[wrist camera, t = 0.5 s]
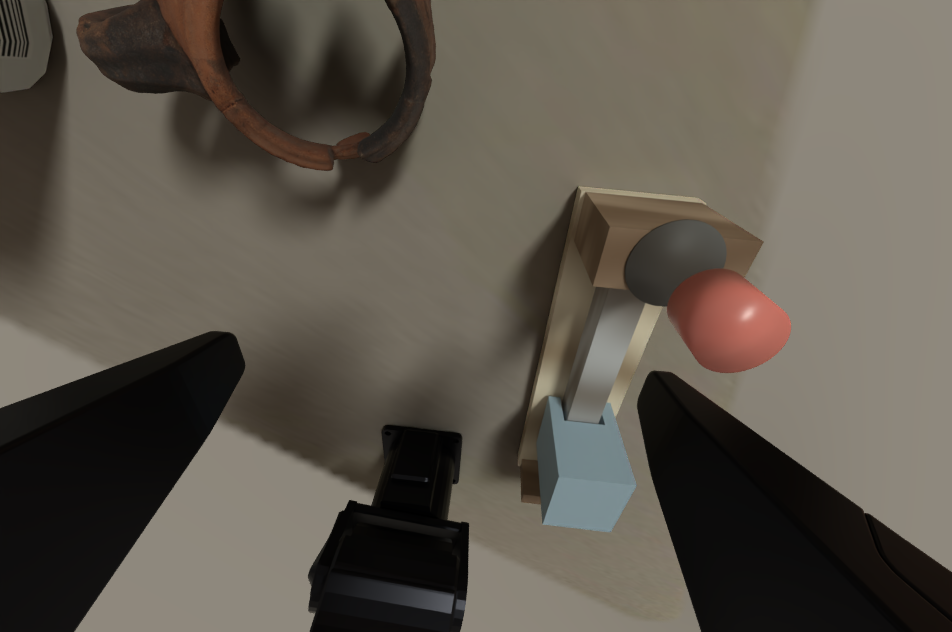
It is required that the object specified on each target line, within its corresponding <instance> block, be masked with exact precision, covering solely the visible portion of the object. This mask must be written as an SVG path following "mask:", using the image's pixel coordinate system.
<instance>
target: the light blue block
mask: <svg viewBox="0 0 952 632" xmlns="http://www.w3.org/2000/svg"><path fill="white" fill-rule="evenodd" d="M536 446H537V459H538V472H539V485H540V497H541V510H542V523H543V524H544V525H552V526H561V527H570V528H578V529H587V530H595V531H604V532H611V531H612V529H613V527H614V525H615V524H616V522H617V520H618V518H619V516H620V515H621V513H622V511H623V509H624V507H625V506H626V504H627V502H628V500H629V498H630V497H631V495H632V493H633V491H634V489H635V488H636V486H637V485H636V482H635V479H634V476H633V473H632V470H631V466H630V463H629V460H628V457H627V454H626V451H625V448H624V444H623V441H622V438H621V435H620V432H619V429H618V425H617V422H616V419H615V416H614V413H613V410H612V407H611V403H606V405H605V408H604V410H603V413H602V415H601V418H600V421H599V423H598V424H591V423H582V422H573V421H564V417H563V411H562V405H561V398H560V397H552V396H549V397H548V400H547V404H546V408H545V412H544V416H543V419H542V423H541V427H540V431H539V435H538V438H537V442H536Z"/></svg>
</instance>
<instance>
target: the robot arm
mask: <svg viewBox="0 0 952 632" xmlns="http://www.w3.org/2000/svg"><path fill="white" fill-rule="evenodd" d="M244 369H245V361H244V358H243V355H242V352H241V349H240V347H239V344H238V341H237V338H236V337H235V335H234V334H232V333H230V332H221V331H210V332H207V333H205V334H202V335H199V336H196V337H194V338H191V339H188V340H185V341H183V342H180V343H177V344H175V345H172V346H169V347H166V348H164V349H161V350H158V351H155V352H153V353H150V354H147V355H144V356H142V357H139V358H136V359H134V360H131V361H128V362H125V363H123V364H120V365H117V366H114V367H112V368H109V369H106V370H103V371H101V372H98V373H95V374H93V375H90V376H87V377H84V378H82V379H79V380H76V381H73V382H71V383H68V384H65V385H62V386H60V387H57V388H54V389H51V390H49V391H46V392H44V393H41V394H38V395H35V396H33V397H30V398H27V399H24V400H21V401H19V402H16V403H13V404H11V405H8V406H5V407H2V408H0V632H74V631H75V630H76V628H77V627H78V626H79V624H80V623H81V621H82V620H83V618H84V617H85V615H86V614H87V612H88V611H89V609H90V608H91V607H92V605H93V604H94V602H95V601H96V599H97V598H98V596H99V595H100V593H101V592H102V590H103V589H104V587H105V586H106V585H107V583H108V582H109V580H110V579H111V577H112V576H113V574H114V573H115V571H116V570H117V569H118V567H119V566H120V564H121V563H122V561H123V560H124V558H125V557H126V555H127V554H128V553H129V551H130V550H131V548H132V547H133V545H134V544H135V542H136V541H137V539H138V538H139V537H140V535H141V534H142V532H143V531H144V529H145V528H146V526H147V525H148V523H149V522H150V520H151V519H152V517H153V516H154V515H155V513H156V512H157V510H158V509H159V507H160V506H161V504H162V503H163V501H164V500H165V498H166V497H167V496H168V494H169V493H170V491H171V490H172V488H173V487H174V485H175V484H176V482H177V481H178V479H179V478H180V477H181V475H182V474H183V472H184V471H185V469H186V468H187V466H188V465H189V463H190V462H191V461H192V459H193V457H194V456H195V455H196V453H197V452H198V450H199V449H200V448H201V446H202V445H203V443H204V442H205V440H206V438H207V437H208V435H209V434H210V432H211V431H212V429H213V427H214V425H215V424H216V422H217V420H218V418H219V416H220V415H221V413H222V411H223V409H224V407H225V406H226V404H227V402H228V400H229V398H230V396H231V395H232V393H233V391H234V389H235V387H236V385H237V384H238V382H239V380H240V378H241V376H242V375H243V372H244ZM637 409H638V414H639V419H640V424H641V429H642V434H643V439H644V444H645V449H646V454H647V459H648V464H649V468H650V472H651V477H652V480H653V483H654V487H655V490H656V493H657V496H658V499H659V502H660V505H661V509H662V512H663V515H664V518H665V521H666V524H667V527H668V530H669V533H670V536H671V540H672V543H673V546H674V549H675V552H676V555H677V558H678V561H679V564H680V567H681V571H682V574H683V577H684V580H685V583H686V586H687V589H688V592H689V595H690V598H691V601H692V605H693V608H694V611H695V614H696V617H697V620H698V623H699V626H700V629H701V632H952V572H951V571H949V570H948V569H946V568H945V567H943V566H942V565H941V564H939V563H938V562H936V561H935V560H934V559H932V558H931V557H929V556H928V555H927V554H925V553H924V552H922V551H921V550H919V549H918V548H917V547H915V546H914V545H912V544H911V543H909V542H908V541H906V540H905V539H903V538H902V537H901V536H899V535H898V534H897V533H895V532H894V531H892V530H891V529H890V528H888V527H887V526H885V525H884V524H883V523H881V522H880V521H878V520H877V519H876V518H874V517H873V516H872V515H870V514H868V513H864V511H863V509H862V508H860V507H859V506H857V505H856V504H855V503H853V502H852V501H851V500H849V499H848V498H846V497H845V496H844V495H842V494H840V493H839V492H838V491H837V490H835V489H834V488H832V487H831V486H830V485H828V484H827V483H825V482H824V481H823V480H821V479H820V478H819V477H817V476H816V475H814V474H813V473H812V472H810V471H809V470H807V469H806V468H805V467H803V466H802V465H800V464H799V463H798V462H796V461H795V460H793V459H792V458H791V457H789V456H788V455H786V454H785V453H783V452H782V451H780V450H779V449H778V448H777V447H775V446H773V445H772V444H771V443H770V442H768V441H767V440H765V439H764V438H763V437H761V436H760V435H758V434H757V433H756V432H754V431H753V430H752V429H750V428H749V427H747V426H746V425H745V424H743V423H742V422H740V421H739V420H738V419H736V418H735V417H733V416H732V415H731V414H729V413H728V412H726V411H725V410H724V409H722V408H721V407H719V406H718V405H717V404H715V403H714V402H712V401H711V400H710V399H708V398H707V397H705V396H704V395H703V394H701V393H700V392H699V391H697V390H696V389H694V388H693V387H692V386H690V385H689V384H687V383H686V382H685V381H683V380H682V379H680V378H679V377H678V376H676V375H675V374H673V373H671V372H664V371H651V372H650V373H649V374H648V376H647V378H646V380H645V383H644V385H643V388H642V390H641V392H640V395H639V397H638V402H637ZM382 439H383V449H384V459H385V464H384V468H383V471H382V474H381V477H380V480H379V483H378V486H377V489H376V492H375V496H374V499H373V502H372V505H371V506H370V505H365V504H360V503H357V501H352V500H349V502H348V504H347V506H346V508H345V510H344V511H341V512H339V514H338V517H337V519H336V522H335V524H334V527H333V529H332V532H331V534H330V536H329V538H328V540H327V541H326V543H325V545H324V547H323V548H322V550H321V551H320V553H319V555H318V556H317V558H316V560H315V562H314V563H313V565H312V567H311V569H310V571H309V574H308V579H309V581H310V584H311V586H312V587H311V592H310V601H309V610H308V611H309V612H310V613H315V616H314V620H313V622H312V626H311V629H310V632H460V630H461V626H462V621H463V616H464V611H465V604H466V595H467V585H468V548H469V523H467V522H461V523H459V522H454V521H449V520H447V519H448V512H449V505H450V498H451V490H452V484H457V483H458V481H459V471H460V460H461V448H462V435H461V434H459V433H452V432H443V431H434V430H425V429H416V428H407V427H398V426H389V425H387V426H384V428H383V430H382Z"/></svg>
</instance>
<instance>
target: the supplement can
mask: <svg viewBox="0 0 952 632" xmlns="http://www.w3.org/2000/svg"><path fill="white" fill-rule="evenodd" d="M52 39H53V35H52V29H51V24H50V18H49V13H48V7H47V3H46V1H45V0H0V93H4V92H11V91H18V90H24V89H29V88H31V87H32V86H33V85H34V84H35V83H36V82H37V81H38V80H39V79H40V78H41V77H42V76H43V75H44V74H45V73H46V68H47V63H48V59H49V54H50V49H51V44H52Z"/></svg>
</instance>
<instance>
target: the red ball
mask: <svg viewBox="0 0 952 632" xmlns="http://www.w3.org/2000/svg"><path fill="white" fill-rule="evenodd" d="M667 314H668V317H669V319H670V321H671V323H672V324H673V326H674V327H675V329H676V330H677V332H678V333H679V335H680V336H681V338H682V339H683V341H684V342H685V344H686V345H687V347H688V348H689V350H690V351H691V352H692V354H693V355H694V357H695V358H696V360H697V361H698V362H699V364H701V365H702V366H703V367H705V368H706V369H709V370H711V371H715V372H720V373H734V372H740V371H745V370H748V369H751V368H754V367H757V366H759V365H761V364H763V363H764V362H766V361H768V360H769V359H771V358H772V357H773V356H775V355H776V354H777V353H778V352H779V351H780V350H781V349H782V347H783V346H784V345H785V344H786V342H787V340H788V338H789V335H790V332H791V322H790V319H789V317H788V315H787V314H786V313H785V312H784V311H783V310H782V309H781V308H780V307H779V306H777V305H776V304H775V303H773V301H771V300H770V299H769V298H768V297H767V296H765V295H764V294H763V293H762V292H761V291H759V290H758V289H757V288H756V287H755V286H753V285H752V284H751V283H750V282H749V281H748V280H746V279H745V278H744V277H743V276H742V275H740V274H739V273H737V272H735V271H732V270H729V269H710V270H705V271H702V272H699V273H697V274H695V275H693V276H691V277H689V278H688V279H686V280H685V281H683V282H682V283H681V284H680V285H679V286H678V287H677V288H676V289H675V290H674V292H673V293H672V295H671V297H670V299H669V302H668V306H667Z"/></svg>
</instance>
